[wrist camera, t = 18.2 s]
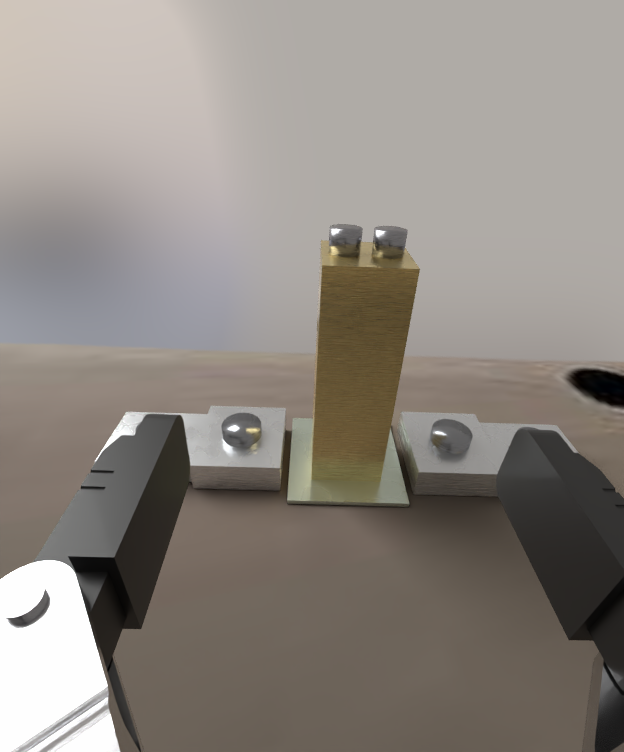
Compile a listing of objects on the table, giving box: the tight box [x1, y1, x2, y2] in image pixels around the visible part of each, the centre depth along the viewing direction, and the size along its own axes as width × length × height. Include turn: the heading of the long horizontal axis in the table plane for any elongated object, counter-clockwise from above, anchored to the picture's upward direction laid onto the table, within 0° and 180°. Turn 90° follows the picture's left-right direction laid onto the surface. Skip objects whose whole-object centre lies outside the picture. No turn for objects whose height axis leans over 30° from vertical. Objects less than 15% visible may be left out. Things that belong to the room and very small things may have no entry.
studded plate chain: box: [95, 406, 578, 507], centre depth 27 cm, size 32×8×3 cm, turn 90°
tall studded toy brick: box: [311, 224, 420, 482], centre depth 24 cm, size 4×4×15 cm
